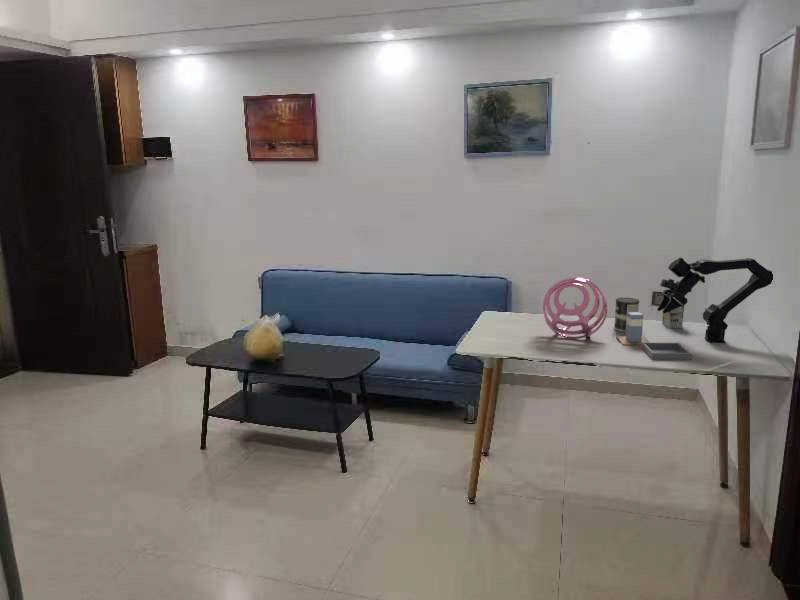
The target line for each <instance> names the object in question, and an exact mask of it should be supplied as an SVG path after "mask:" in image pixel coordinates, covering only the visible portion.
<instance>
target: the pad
mask: <svg viewBox="0 0 800 600" xmlns="http://www.w3.org/2000/svg"><path fill="white" fill-rule="evenodd" d="M615 338H616V340H617V342H618V343H619V344H621V345H622V346H641V347H642V342H650V341H649V340H648V339H647V338H646V337H645V336H643V335H642V342H629V341H628V340H627V339H626V335H625V336H624V335H623V336H622V335H616V336H615Z"/></svg>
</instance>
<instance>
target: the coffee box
mask: <svg viewBox="0 0 800 600" xmlns="http://www.w3.org/2000/svg"><path fill="white" fill-rule="evenodd" d="M681 305H682V304H681ZM664 309H665V308H664ZM664 309H663V310H664ZM663 310H662V311H663ZM684 310H685V305H682V306H681V307H678V308H676V309H674V310H671V311H669V312H667V313H665V314H664V313H663V312H662V322H661V323H662V325H664V326H665V327H667V326H668V327H667V328H669V329H679V328H680V329H681V328H683V325H684V324H683V323H684V322H683V321H684V315H685V314H684V313H685V311H684Z"/></svg>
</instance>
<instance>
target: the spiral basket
mask: <svg viewBox="0 0 800 600" xmlns="http://www.w3.org/2000/svg"><path fill="white" fill-rule="evenodd" d="M585 286H588V287H589V289H591V291H592V293H593V296H594V304H593V305H594V306H593V307H592V310H591V311H590V312H589V313H588V314H587V315H586V316H584V315H583V312H584V311H585V310H586V309H587V307H588V306H589V303H590V299H591V298H590V294H589V291H588V289H587V288H586V287H585ZM568 288H576V289H578V290H579V291H580V292H581V293H582V295H583V301H582V302H581V304H580V305H579V306H578V305H577V304H576V303H575V302H573V307H574V308H572V309H571V308H566V305H567V301H565V302H564V303H563V304H561V303H560V301H559V298H560V295H561V293H562V292H563V291H564V290H565V289H568ZM553 295H554V296H553ZM552 296H553V305H554V307H555V308H556V310H557V312H556V313H554V311H553V310H552V307H551V304H550V302H551V301H550V300H551V297H552ZM600 296H601V301H600ZM601 302H602V308H601V312H600V314H599V316H598V317H597V318H596V320H594V322H593V323H592V324H590V325H589V322H590V321H591V320H592V319H593V318H594V317H595V315H596V314H597V313H598V310H599V308H600V303H601ZM546 311H547V312H548V315H549V316H550V318H551V320H552V321H551V320H550V318H549V317H548V315H547V312H546ZM542 313H543V317H544V321H545V323H546V325H547V326H548V327H549V329H550V330H551V331H552V332H553V333H554V334H556V335H557V336H560V337H562V338H565V339H569V338H570V339H569V340H571V339H572V340H578V339H583V338H588V337H589V338H590V337H591V336H592V335H594V334H595V333H596V332H597V331H598V330H600V328H601V327H602V326H603V324H604V322H605V321H606V319H607V315H608V302H607V299H606V297H605V295H604V293H603V291H602V290H601V289H600V287H599V286H598V285H597V284H595V283H594V282H593V281H591V280H589V279H586V278H582V277H568V278H564V279H561V280H559V281H557V282H555V283H554V284H553V285H552V286H551V287H550V288H549V289H548V290H547V292H546V293H545V296H544V298H543V300H542ZM562 314H564V315H567V316H575V315H577V316H578V318H579V319H576V320H573V321H571V320H565V319H562V318H561V317H560V316H561V315H562ZM557 324H559V325H562V326H566V327H564V328H560V327H559V326H558V325H557ZM598 324H599V325H598ZM578 326H580V327H581V329H578V330H569V329H570V328H572V327H578ZM561 333H562V334H561ZM582 334H584V335H582ZM569 335H570V336H569ZM571 335H574V336H571ZM575 335H577V336H575ZM578 335H579V336H578Z"/></svg>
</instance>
